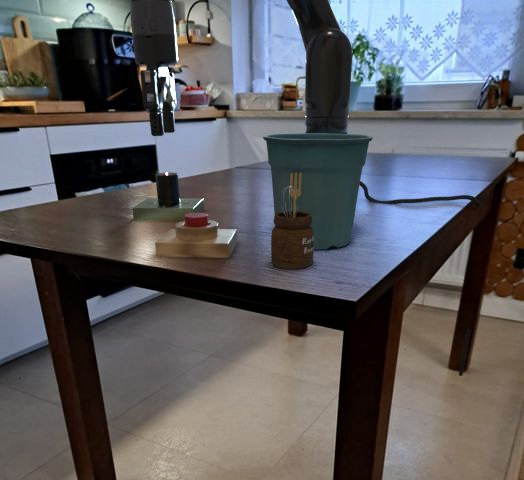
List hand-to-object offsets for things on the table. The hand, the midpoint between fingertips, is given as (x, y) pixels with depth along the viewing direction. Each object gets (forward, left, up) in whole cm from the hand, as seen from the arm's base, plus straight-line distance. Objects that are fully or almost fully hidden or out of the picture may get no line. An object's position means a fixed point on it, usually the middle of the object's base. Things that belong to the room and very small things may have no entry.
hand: (163, 134), depth 97 cm
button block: (-11, +24, -15) cm, 31 cm away
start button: (-11, +25, -12) cm, 29 cm away
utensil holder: (-26, +31, -15) cm, 43 cm away
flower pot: (-29, +18, -15) cm, 37 cm away
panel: (0, -1, -15) cm, 15 cm away
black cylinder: (0, -1, -13) cm, 13 cm away
